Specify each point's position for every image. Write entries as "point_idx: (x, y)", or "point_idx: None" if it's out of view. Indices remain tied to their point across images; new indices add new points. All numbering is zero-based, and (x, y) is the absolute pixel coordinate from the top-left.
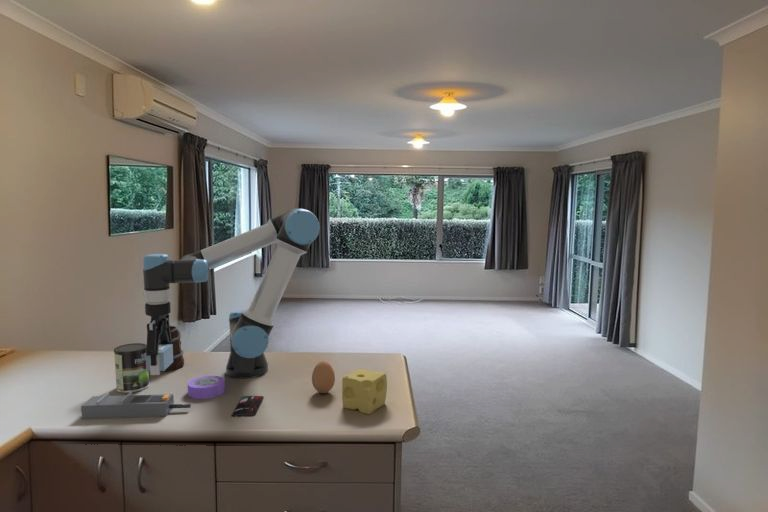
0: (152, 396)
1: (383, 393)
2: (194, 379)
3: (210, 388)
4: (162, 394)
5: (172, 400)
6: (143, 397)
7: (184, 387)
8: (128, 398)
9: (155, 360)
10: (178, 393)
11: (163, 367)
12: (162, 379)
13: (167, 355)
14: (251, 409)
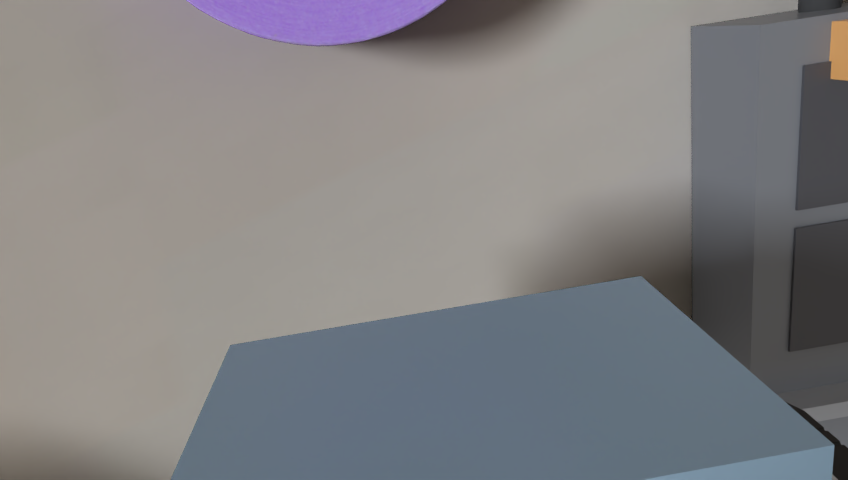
0: (810, 207)
1: None
2: (249, 5)
3: None
4: (757, 139)
5: (763, 20)
6: (824, 276)
7: (236, 142)
8: (825, 386)
9: (834, 452)
10: (390, 129)
11: (663, 304)
12: (82, 432)
13: (523, 401)
14: None
